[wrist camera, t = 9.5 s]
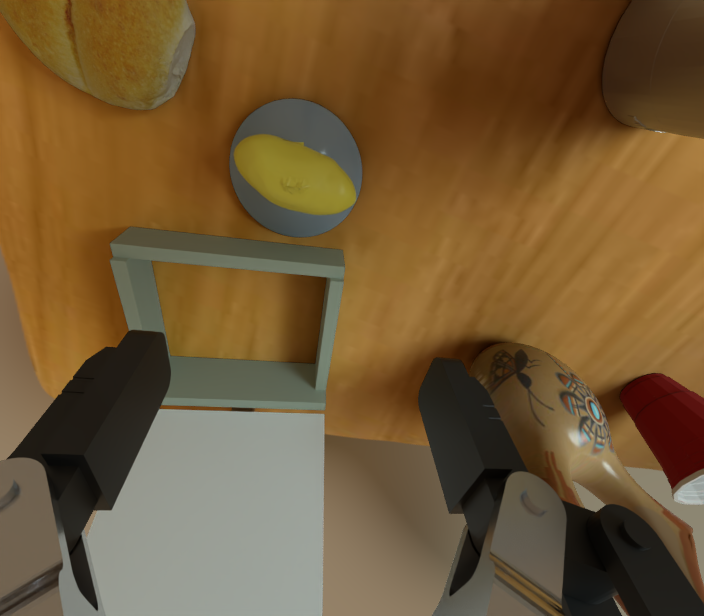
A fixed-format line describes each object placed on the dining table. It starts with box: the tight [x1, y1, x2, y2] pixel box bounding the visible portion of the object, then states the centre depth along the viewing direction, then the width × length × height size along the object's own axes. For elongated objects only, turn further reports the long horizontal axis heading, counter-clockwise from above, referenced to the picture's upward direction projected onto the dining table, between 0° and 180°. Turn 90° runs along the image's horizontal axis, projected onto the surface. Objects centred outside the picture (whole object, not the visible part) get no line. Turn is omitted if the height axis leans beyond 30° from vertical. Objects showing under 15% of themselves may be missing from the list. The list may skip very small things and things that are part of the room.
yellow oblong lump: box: [234, 134, 356, 215], centre depth 21 cm, size 4×8×4 cm, turn 63°
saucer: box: [229, 98, 362, 237], centre depth 23 cm, size 9×9×1 cm
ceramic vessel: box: [469, 343, 704, 616], centre depth 26 cm, size 16×9×25 cm, turn 63°
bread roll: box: [0, 0, 195, 110], centre depth 17 cm, size 8×9×4 cm
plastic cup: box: [620, 373, 704, 505], centre depth 37 cm, size 11×11×12 cm
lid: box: [86, 409, 324, 616], centre depth 25 cm, size 14×16×1 cm
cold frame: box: [110, 227, 345, 410], centre depth 28 cm, size 14×16×5 cm
